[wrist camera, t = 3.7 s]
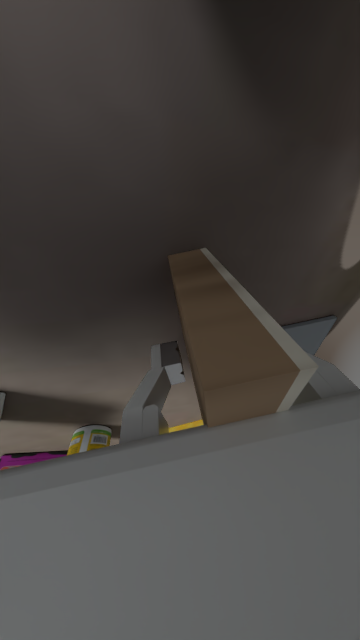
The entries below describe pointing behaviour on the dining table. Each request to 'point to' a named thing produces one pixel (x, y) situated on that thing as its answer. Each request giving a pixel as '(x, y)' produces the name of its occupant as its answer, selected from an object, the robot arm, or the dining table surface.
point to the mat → (310, 333)
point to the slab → (234, 344)
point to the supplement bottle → (89, 438)
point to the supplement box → (1, 402)
